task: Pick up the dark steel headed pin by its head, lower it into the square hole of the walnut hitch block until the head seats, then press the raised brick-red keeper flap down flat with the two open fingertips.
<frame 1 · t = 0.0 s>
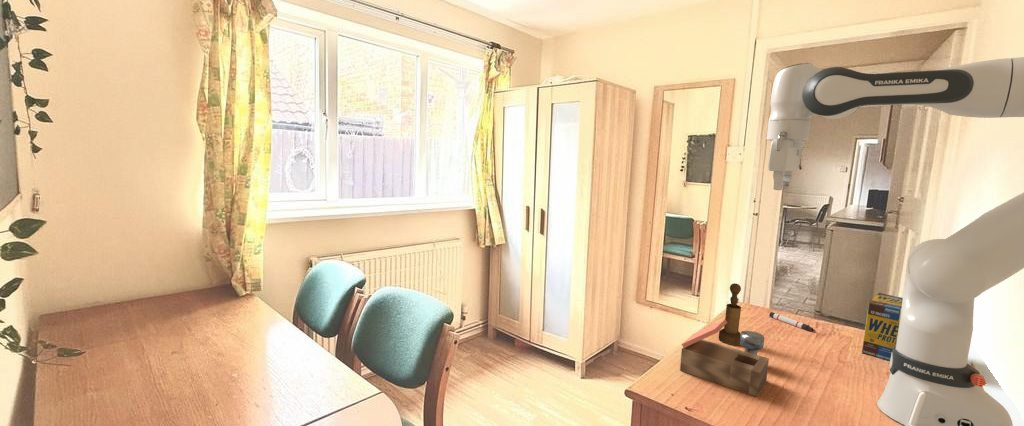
hand: (781, 189, 108), 48 cm above the table, tool pointing down, fingers open, 8 cm apart
marker: (791, 325, 147), on the table
hitch block: (722, 375, 111), on the table
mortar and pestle: (730, 341, 132), on the table
keeper flap: (704, 333, 113), point 10 cm above the table, hinge at 40.0°
protein box: (888, 353, 127), on the table
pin: (749, 362, 118), on the table
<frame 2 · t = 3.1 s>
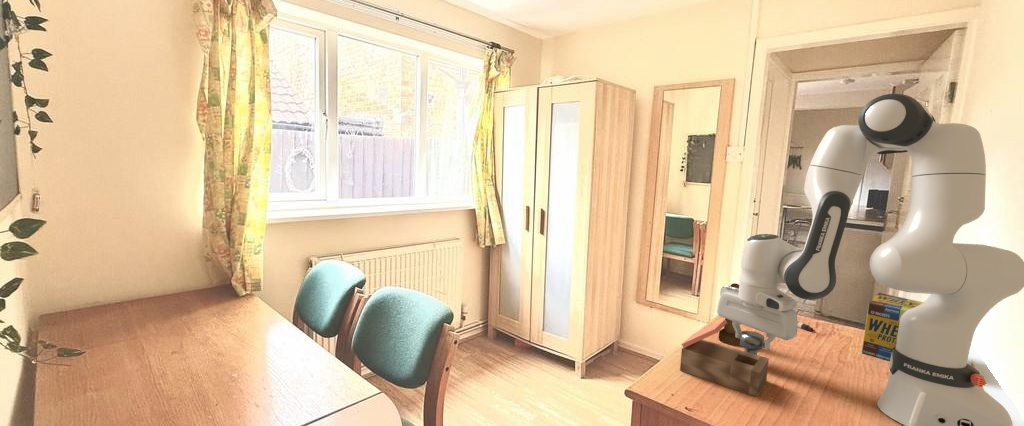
hand: (751, 342, 118), 6 cm above the table, tool pointing down, fingers closed on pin, 6 cm apart
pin: (749, 362, 118), on the table, touching gripper
everything else where it was.
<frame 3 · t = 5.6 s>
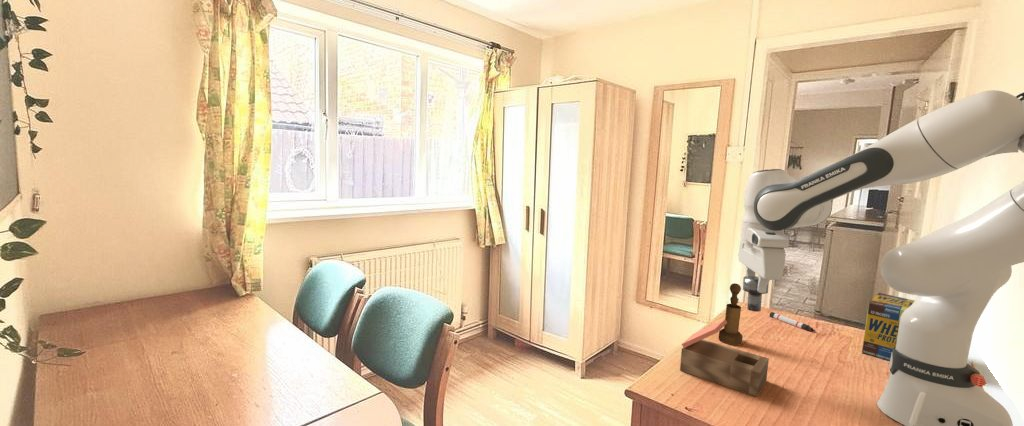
hand: (755, 288, 109), 23 cm above the table, tool pointing down, fingers closed on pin, 6 cm apart
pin: (754, 309, 110), point 17 cm above the table, touching gripper
everything else where it was.
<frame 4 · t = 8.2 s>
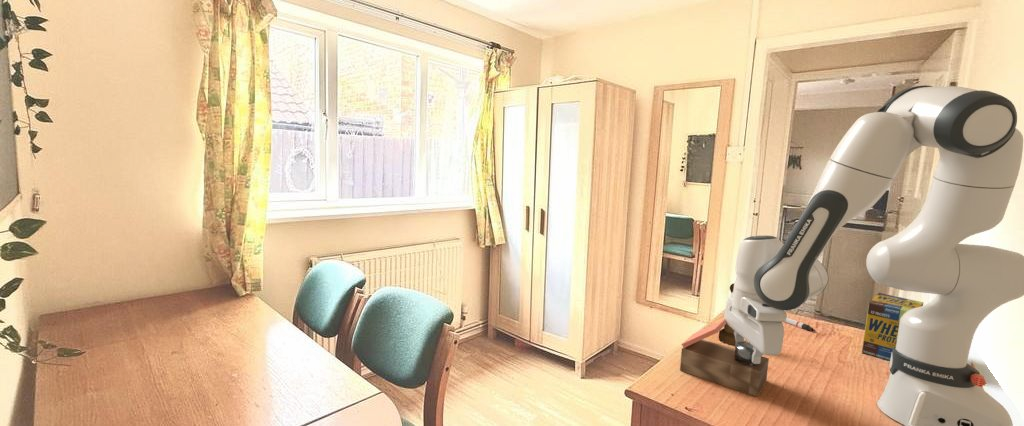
hand: (747, 355, 106), 7 cm above the table, tool pointing down, fingers closed on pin, 6 cm apart
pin: (745, 377, 106), point 2 cm above the table, touching gripper
everything else where it was.
when the fingers open (7 cm above the table, at t = 8.8 s): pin stays where it is, point 1 cm above the table.
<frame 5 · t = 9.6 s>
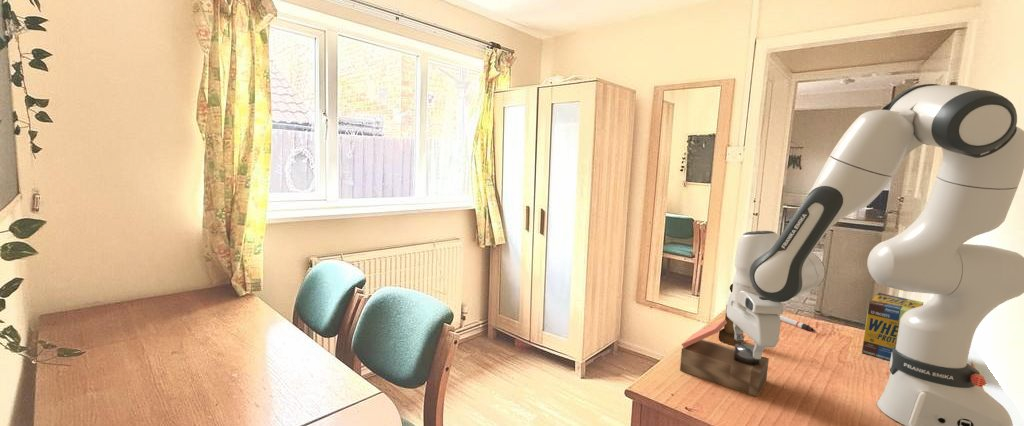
hand: (747, 348, 108), 8 cm above the table, tool pointing down, fingers open, 8 cm apart
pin: (745, 378, 107), point 1 cm above the table, touching gripper
everything else where it was.
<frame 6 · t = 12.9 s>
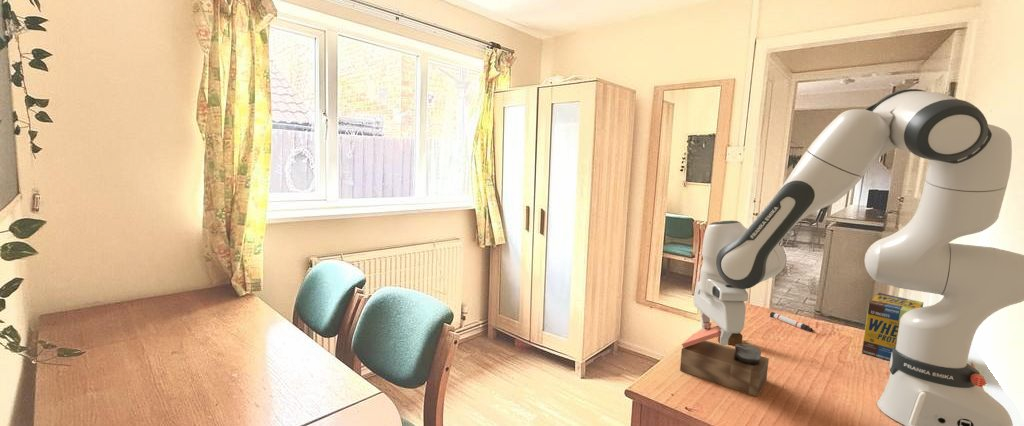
hand: (714, 336, 111), 10 cm above the table, tool pointing down
keeper flap: (705, 334, 113), point 9 cm above the table, hinge at 34.9°, touching gripper
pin: (744, 378, 107), point 1 cm above the table, touching hitch block
everything else where it was.
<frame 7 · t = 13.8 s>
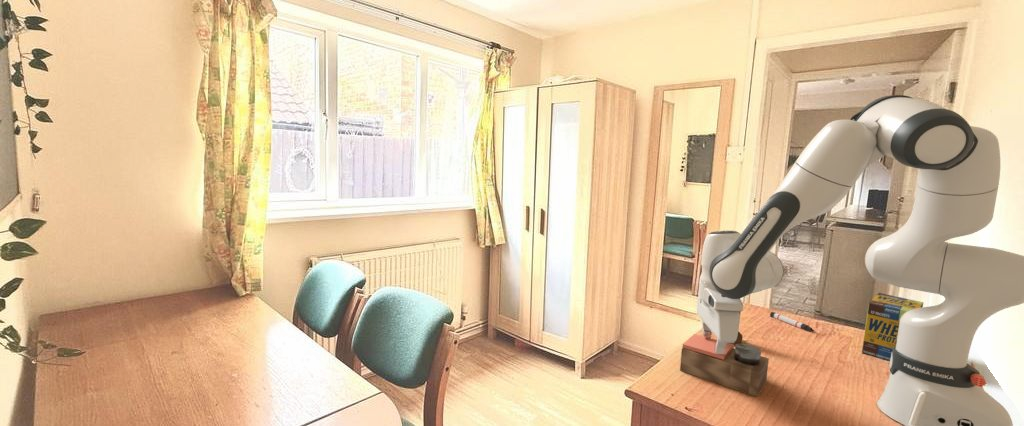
hand: (712, 344, 111), 8 cm above the table, tool pointing down, fingers open, 8 cm apart
keeper flap: (708, 346, 112), point 7 cm above the table, hinge at 0.9°
everything else where it was.
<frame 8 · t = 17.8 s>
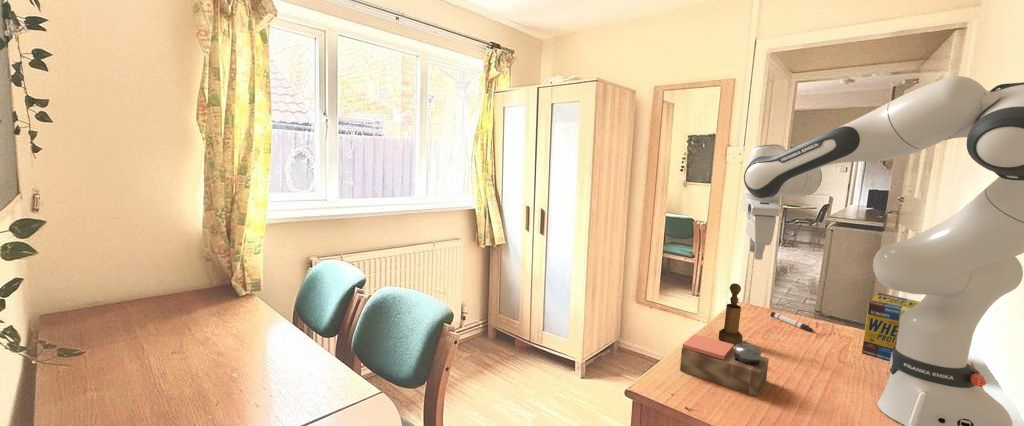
hand: (755, 255, 119), 29 cm above the table, tool pointing down, fingers open, 8 cm apart
nothing on the table moved.
at the end: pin 0.2 cm from the target spot on the hitch block, point 1.0 cm above the hitch block's base; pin tilted 0°; keeper flap at +1° (first picture: +40°) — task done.
